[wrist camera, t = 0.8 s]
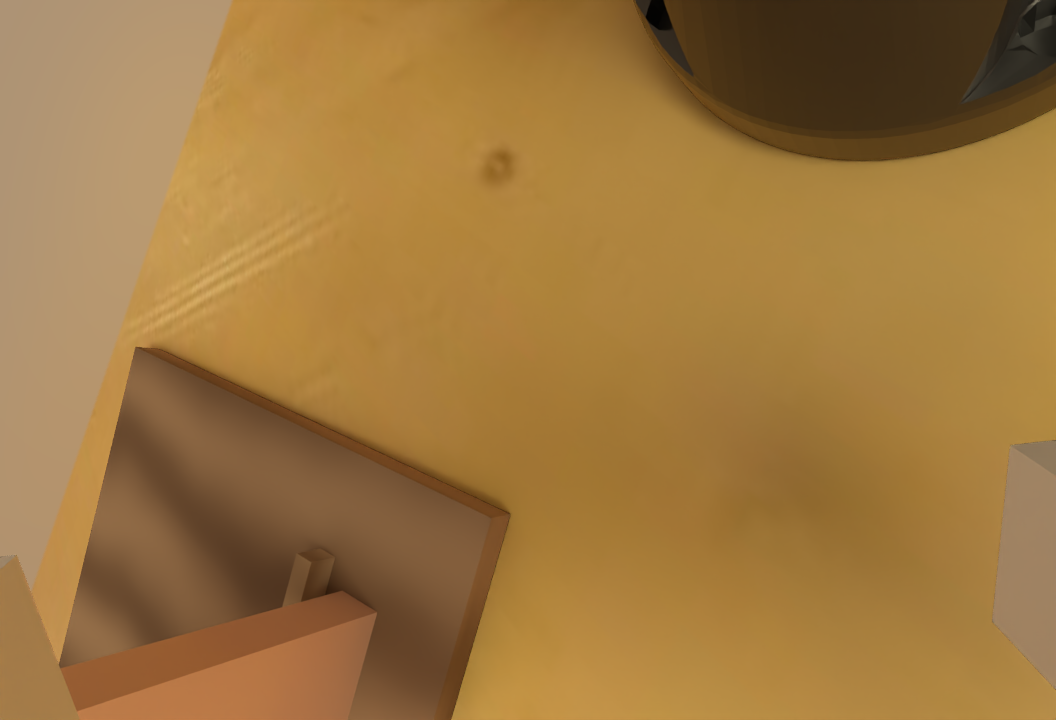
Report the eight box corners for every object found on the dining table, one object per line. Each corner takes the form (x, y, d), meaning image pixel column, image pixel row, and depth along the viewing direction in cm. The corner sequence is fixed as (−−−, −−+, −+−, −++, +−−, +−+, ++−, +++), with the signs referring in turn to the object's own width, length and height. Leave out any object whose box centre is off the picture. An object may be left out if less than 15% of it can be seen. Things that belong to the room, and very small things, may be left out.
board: (159, 349, 36) (110, 344, 34) (510, 514, 26) (471, 522, 24) (49, 799, 38) (-3, 821, 36) (334, 1122, 28) (283, 1178, 26)
